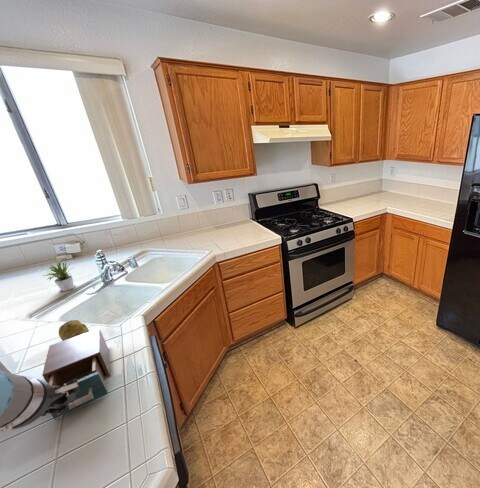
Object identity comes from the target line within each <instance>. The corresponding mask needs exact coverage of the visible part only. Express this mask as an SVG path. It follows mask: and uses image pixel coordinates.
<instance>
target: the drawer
mask: <svg viewBox="0 0 480 488" xmlns="http://www.w3.org/2000/svg"><path fill="white" fill-rule="evenodd" d="M72 379H77V382H78V386H79V391H78V392H77V393H76V394H75V401H73V402H72V403H70V404H68V405H69V410H67V411H65V412H63V413H59V414H50V415H51V417H52V418H53V420H56V419H59V418H60V417H62V416H65V415H66V414H69V413H71V412H73V411H75V410H78V409H80V408H82V407H83V406H85V405H87V404H89V403H92V402H94V401H96V400H98V399H100V398H102V397H104V396H106V395H108V394H109V391H108V388H107V386H106V384H105V378H104V369H103V367H102V365H101V362H100V360H99V358H98V356H95V357H92V358H90V359H87V360H85V361H82V362H80V363H77V364H75V365H72V366H70V367H67V368H65V369H62V370H60V371H57V372H55V373H52V374H51V375H50V379H49V384H50V385H51V386H52V387H53V386H60V387H61V388H62V387H64V386H63V385H64V384H66V383H68V382H69V381H71V380H72ZM62 394H63V393H62ZM63 395H65V394H63Z"/></svg>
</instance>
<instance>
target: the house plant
mask: <svg viewBox="0 0 480 488" xmlns="http://www.w3.org/2000/svg"><path fill="white" fill-rule="evenodd" d="M41 266H43V267H47V268H49V270H48V273H46V274H44V275H42V277H43V278H45V277H47V280H52V279H53V278H54V280H53V282H54V283H55V285H56V286H57V288H59V289H60V291H61V292H67V291H70V290H73V289H74V288H75V283H74V279H73V275H72V274H71V273H68V272H71V270H72V269H74V267H72V268H70V269H69V270H68V268H69V266H70V264H67V261H65V262H64V260H62V266H61V260H60V259H58V260H57V265H56V266H54V265H52V264H50V265H45V264H44V265H41ZM37 271H40V269H38V270H37Z"/></svg>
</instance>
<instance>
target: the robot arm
mask: <svg viewBox="0 0 480 488" xmlns="http://www.w3.org/2000/svg"><path fill="white" fill-rule="evenodd" d="M63 386H64V387H62V388H61V387H60V386H53V387H52V386H51V385H50V384H48V383H47V382H46V381H45V380H43V379H40V378H34V377H30V376H25V375H20V374H15V373H12V372H11V371H10V370H9V369H8V368H7V367H6V366H5V365H4V364H3V362H1V360H0V432H1V431H2V432H4V433H6V432H9V431H12V430H17V429H21V428H24V427H26V426H28V425H30V424H32V423H34V422H35V421H37V420H38V419H40V418H41V417H45V416H47V415H49V414H50V415H51V414H59V413H63V412H65V411H67V410H69V405H68V404H70V403H72V402H73V401H75V394H76V393H77V392H78V391H79V386H78V382H77V379H72V380H71V381H69V382H68V383H66V384H64V385H63ZM62 393H63V394H65V395H63V394H62Z"/></svg>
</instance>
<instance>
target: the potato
mask: <svg viewBox="0 0 480 488" xmlns="http://www.w3.org/2000/svg"><path fill="white" fill-rule="evenodd" d="M89 331H90V329H89V328H88V327H87V325H86V324H85V323H82V322H81V321H79V320H75V319H73V320H69V321H65V322H64V323H63V324H61V325H60V327H58V336H59V338H60V340H62V341H64V340H67V339H70V338H73V337H75V336H78V335H81V334H84V333H87V332H89Z"/></svg>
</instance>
